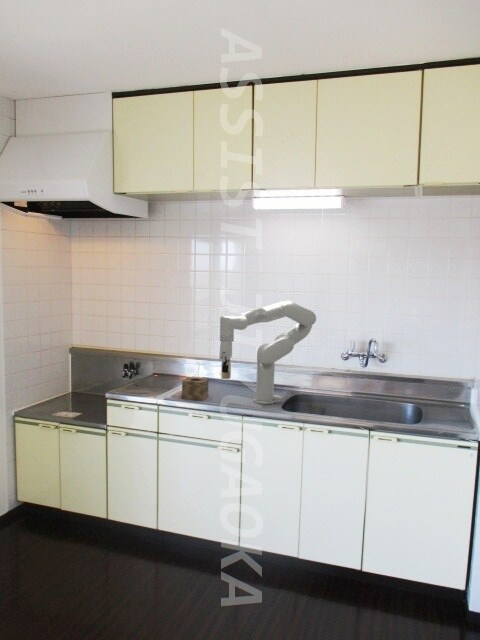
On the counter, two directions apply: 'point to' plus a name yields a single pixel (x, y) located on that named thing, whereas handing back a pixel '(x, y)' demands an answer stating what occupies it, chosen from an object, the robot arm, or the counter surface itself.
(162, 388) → the counter surface
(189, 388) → the brown block
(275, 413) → the counter surface
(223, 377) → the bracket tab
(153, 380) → the counter surface
